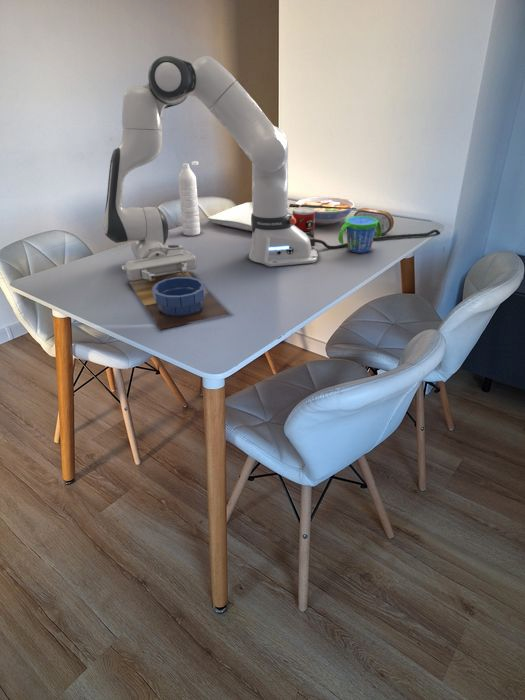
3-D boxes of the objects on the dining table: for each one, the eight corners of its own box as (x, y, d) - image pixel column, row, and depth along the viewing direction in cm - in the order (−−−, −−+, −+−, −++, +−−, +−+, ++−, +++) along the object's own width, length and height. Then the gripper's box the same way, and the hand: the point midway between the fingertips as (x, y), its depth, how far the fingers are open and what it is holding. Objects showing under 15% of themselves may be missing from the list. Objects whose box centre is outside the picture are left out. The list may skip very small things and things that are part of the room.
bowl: (209, 297, 139) (208, 277, 136) (201, 319, 128) (199, 297, 125) (162, 297, 140) (159, 276, 137) (149, 318, 129) (146, 296, 126)
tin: (392, 234, 186) (395, 211, 182) (389, 236, 184) (392, 213, 180) (354, 228, 193) (356, 206, 189) (351, 230, 191) (352, 208, 187)
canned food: (299, 245, 177) (300, 213, 172) (288, 239, 183) (288, 208, 178) (318, 242, 180) (319, 210, 175) (306, 236, 186) (307, 205, 181)
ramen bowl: (358, 216, 208) (359, 195, 204) (353, 233, 189) (355, 210, 184) (297, 213, 213) (297, 193, 209) (287, 229, 194) (287, 207, 190)
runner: (129, 283, 150) (129, 282, 150) (187, 272, 156) (187, 271, 156) (144, 306, 136) (144, 305, 135) (208, 294, 142) (208, 292, 142)
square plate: (247, 210, 219) (247, 200, 217) (302, 219, 205) (302, 209, 203) (206, 225, 200) (205, 215, 198) (264, 237, 186) (264, 226, 184)
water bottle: (190, 237, 187) (184, 165, 175) (179, 233, 191) (172, 163, 179) (208, 231, 193) (203, 162, 180) (197, 228, 197) (191, 160, 184)
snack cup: (344, 257, 166) (346, 226, 161) (331, 247, 175) (332, 218, 169) (387, 252, 170) (390, 221, 165) (372, 242, 179) (375, 213, 173)
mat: (144, 306, 136) (144, 305, 135) (208, 294, 142) (208, 292, 142) (160, 330, 124) (160, 328, 124) (229, 315, 131) (229, 313, 130)
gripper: (118, 255, 147) (129, 270, 136) (186, 244, 154) (202, 258, 144) (122, 275, 150) (133, 292, 139) (188, 264, 158) (203, 279, 147)
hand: (168, 274), depth 141 cm, fingers open, 8 cm apart
